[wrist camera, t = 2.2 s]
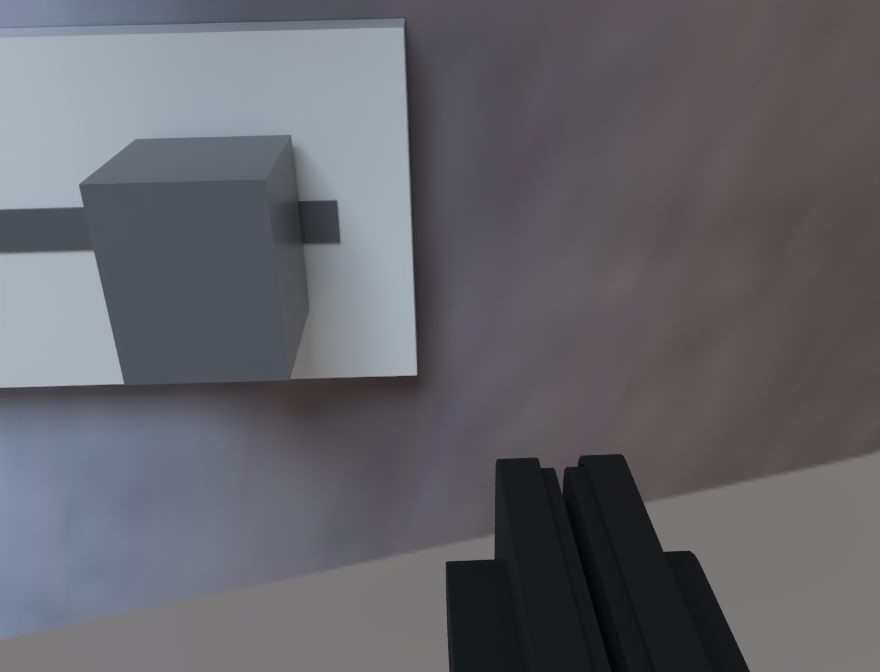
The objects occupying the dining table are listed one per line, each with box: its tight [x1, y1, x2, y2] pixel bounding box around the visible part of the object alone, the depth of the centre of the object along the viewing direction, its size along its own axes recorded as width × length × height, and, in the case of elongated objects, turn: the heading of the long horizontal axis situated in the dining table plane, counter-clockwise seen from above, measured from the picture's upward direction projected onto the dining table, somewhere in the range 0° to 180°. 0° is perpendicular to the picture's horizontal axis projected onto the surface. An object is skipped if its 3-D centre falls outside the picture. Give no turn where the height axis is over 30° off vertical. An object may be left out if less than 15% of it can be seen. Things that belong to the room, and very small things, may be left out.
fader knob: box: [79, 135, 309, 385], centre depth 21 cm, size 4×5×4 cm
